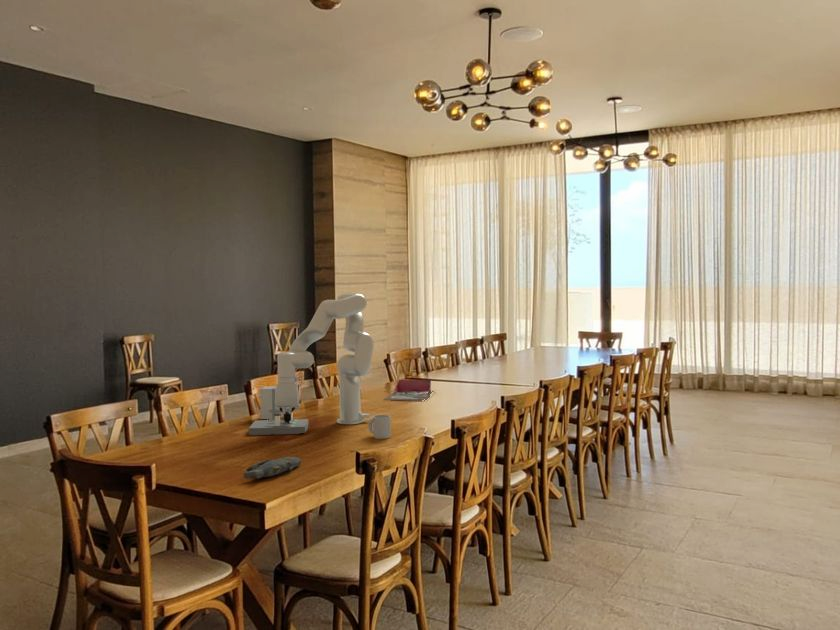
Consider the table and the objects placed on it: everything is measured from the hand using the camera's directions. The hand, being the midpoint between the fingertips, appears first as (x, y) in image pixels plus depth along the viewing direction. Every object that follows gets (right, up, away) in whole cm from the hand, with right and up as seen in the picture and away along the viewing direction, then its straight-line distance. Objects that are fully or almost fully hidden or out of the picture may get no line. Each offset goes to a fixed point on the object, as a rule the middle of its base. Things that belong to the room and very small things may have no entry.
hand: (287, 422), depth 305 cm
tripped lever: (-4, -1, 0) cm, 4 cm away
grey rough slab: (+5, -8, -64) cm, 64 cm away
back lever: (-1, -1, +12) cm, 12 cm away
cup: (+41, -5, -10) cm, 42 cm away
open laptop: (+53, 0, +95) cm, 109 cm away
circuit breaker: (-12, -3, +34) cm, 36 cm away
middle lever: (-1, -1, +6) cm, 6 cm away
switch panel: (-5, -4, +6) cm, 9 cm away
